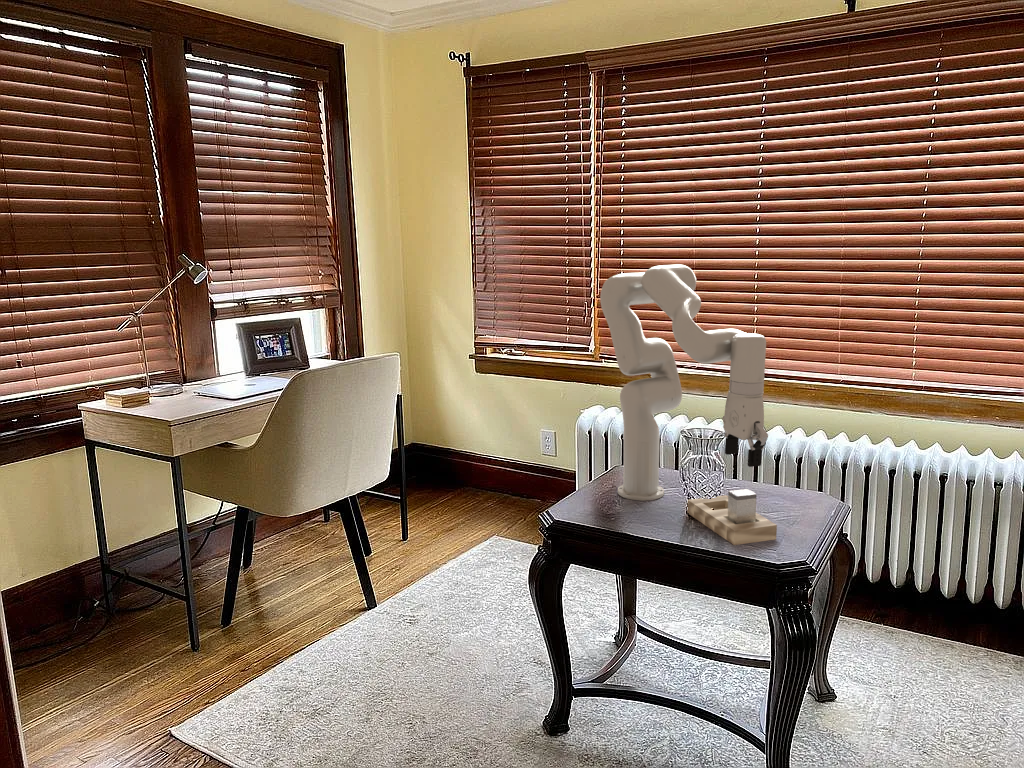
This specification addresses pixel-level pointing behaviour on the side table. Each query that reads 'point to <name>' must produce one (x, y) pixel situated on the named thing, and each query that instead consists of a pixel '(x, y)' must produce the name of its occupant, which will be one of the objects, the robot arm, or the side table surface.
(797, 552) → the side table surface
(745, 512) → the white rectangular block
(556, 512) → the side table surface
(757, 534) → the tan cinder block
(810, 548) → the side table surface
